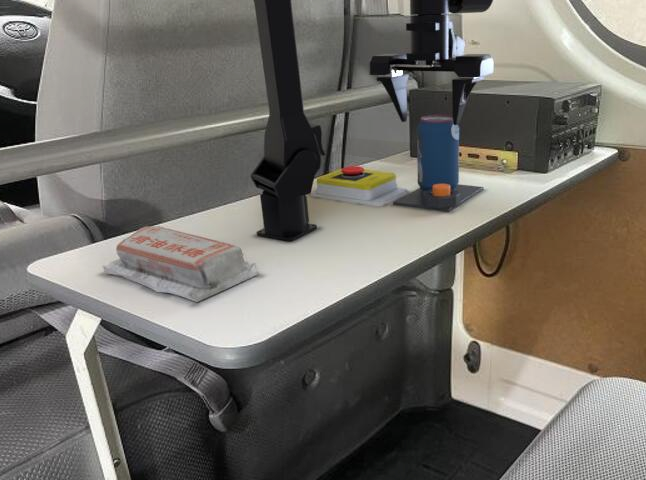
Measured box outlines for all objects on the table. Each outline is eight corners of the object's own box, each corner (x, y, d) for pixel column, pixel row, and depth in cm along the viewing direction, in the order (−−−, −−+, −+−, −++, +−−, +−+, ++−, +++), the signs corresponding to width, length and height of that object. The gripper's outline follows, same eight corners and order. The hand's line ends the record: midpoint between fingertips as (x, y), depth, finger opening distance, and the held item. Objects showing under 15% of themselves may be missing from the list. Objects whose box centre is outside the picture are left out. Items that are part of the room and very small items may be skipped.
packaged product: (256, 238, 75) (189, 265, 68) (261, 275, 77) (196, 306, 70) (161, 216, 85) (94, 238, 77) (168, 250, 87) (103, 274, 79)
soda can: (466, 188, 107) (468, 116, 102) (440, 197, 103) (440, 122, 98) (435, 182, 112) (435, 112, 107) (409, 190, 107) (407, 118, 102)
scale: (450, 213, 97) (450, 199, 96) (391, 205, 102) (391, 192, 101) (485, 190, 108) (485, 177, 107) (431, 184, 113) (431, 172, 112)
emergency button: (338, 159, 114) (409, 167, 107) (340, 183, 116) (409, 192, 108) (306, 170, 107) (379, 180, 100) (308, 196, 109) (380, 206, 101)
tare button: (445, 198, 98) (445, 188, 97) (429, 196, 99) (429, 187, 99) (453, 194, 100) (453, 184, 99) (437, 192, 101) (437, 182, 101)
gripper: (509, 11, 95) (504, 118, 101) (400, 15, 103) (402, 112, 110) (480, 13, 86) (477, 130, 93) (364, 17, 95) (369, 123, 101)
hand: (429, 123), depth 99 cm, fingers open, 9 cm apart
